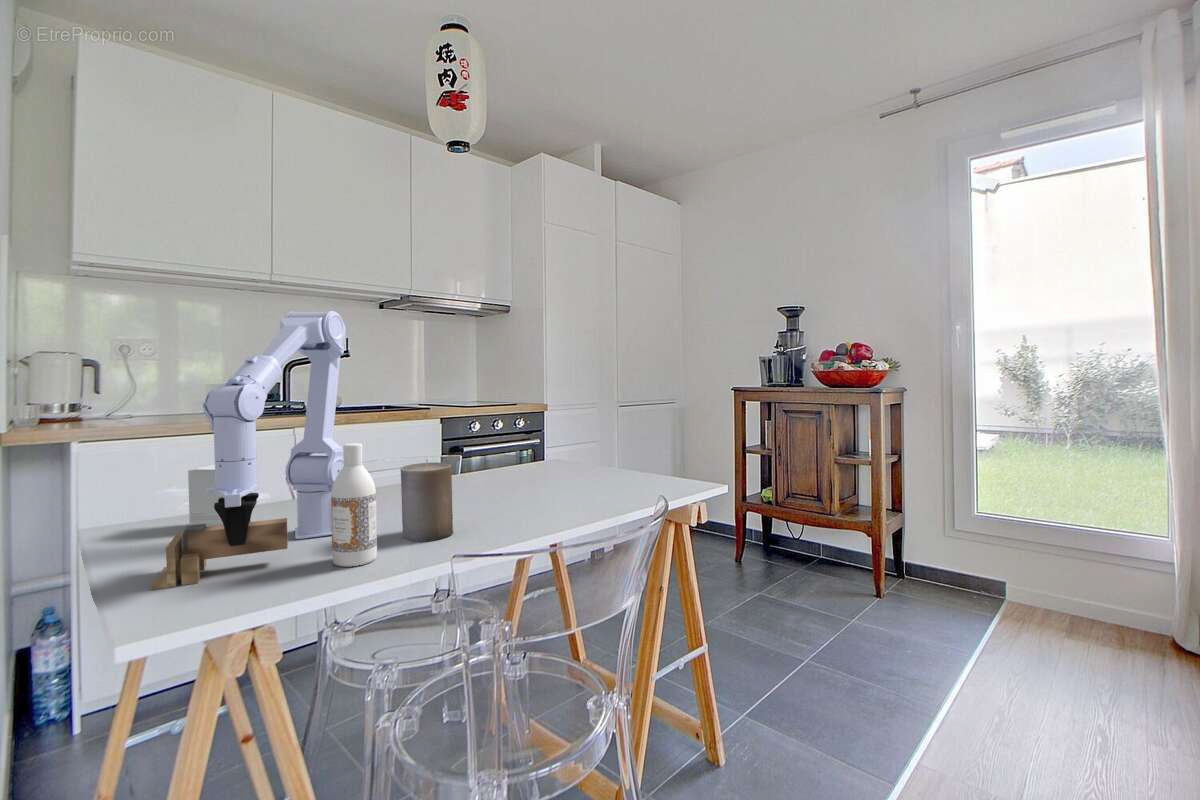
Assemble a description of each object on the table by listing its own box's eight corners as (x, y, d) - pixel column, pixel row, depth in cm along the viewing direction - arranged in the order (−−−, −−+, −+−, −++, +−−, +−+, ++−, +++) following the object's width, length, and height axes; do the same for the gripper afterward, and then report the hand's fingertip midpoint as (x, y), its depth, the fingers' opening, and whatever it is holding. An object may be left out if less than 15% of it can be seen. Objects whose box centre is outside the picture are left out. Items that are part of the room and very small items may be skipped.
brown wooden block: (287, 543, 96) (286, 515, 95) (287, 548, 93) (286, 519, 93) (187, 556, 89) (186, 525, 89) (183, 562, 86) (182, 530, 86)
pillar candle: (458, 527, 115) (456, 455, 115) (446, 541, 106) (444, 463, 105) (410, 528, 115) (408, 456, 114) (394, 542, 105) (392, 464, 105)
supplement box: (224, 531, 113) (222, 469, 112) (188, 531, 113) (186, 469, 112) (248, 521, 120) (246, 463, 119) (214, 521, 120) (212, 463, 119)
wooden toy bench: (206, 564, 93) (205, 529, 92) (197, 583, 85) (196, 544, 84) (164, 570, 90) (163, 534, 90) (151, 590, 82) (149, 549, 82)
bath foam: (323, 565, 93) (320, 445, 92) (353, 552, 99) (350, 441, 98) (357, 569, 90) (354, 447, 90) (385, 556, 97) (383, 442, 96)
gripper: (212, 455, 95) (214, 533, 95) (199, 467, 82) (202, 558, 83) (260, 452, 98) (262, 528, 99) (255, 463, 85) (257, 551, 86)
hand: (238, 541), depth 91 cm, fingers closed on brown wooden block, 3 cm apart
